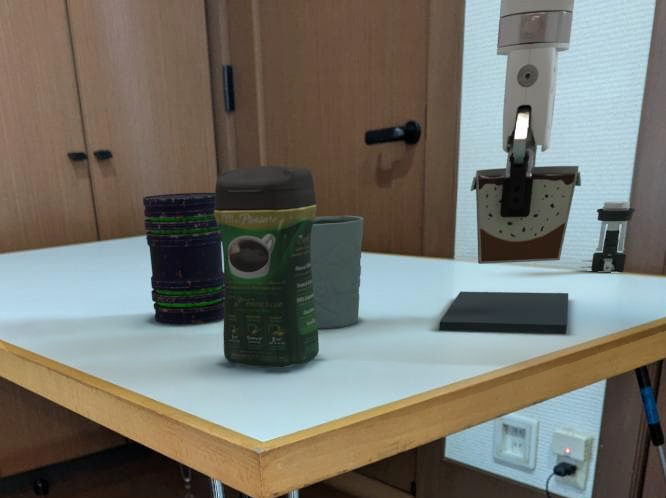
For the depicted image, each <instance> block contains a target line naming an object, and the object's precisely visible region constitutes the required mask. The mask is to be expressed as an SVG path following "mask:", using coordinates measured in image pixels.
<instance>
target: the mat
mask: <svg viewBox="0 0 666 498" xmlns="http://www.w3.org/2000/svg"><path fill="white" fill-rule="evenodd" d="M568 313H569V293H568V292H519V291H518V292H516V291H512V292H511V291H509V292H508V291H460V292H459V293H458V294H457V296H455V299H454V300H453V301H452V303H451V304H450V306H449V307H448V308H447V311H445V313H444V315H443V316H442V317H441V319H440V320H439V324H438V330H439V331H453V332H454V331H455V332H456V331H457V332H458V331H459V332H485V333H486V332H488V333H489V332H490V333H491V332H492V333H521V334H522V333H523V334H527V333H528V334H553V335H554V334H555V335H557V334H559V335H566V334H567V329H568V315H569V314H568Z"/></svg>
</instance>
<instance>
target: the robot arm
mask: <svg viewBox="0 0 666 498" xmlns="http://www.w3.org/2000/svg"><path fill="white" fill-rule="evenodd" d="M499 6H500V7H499V20H498V30H497V45H496V48H497V49H496V55H497V56H507V58H506V68H505V69H506V70H505V82H504V94H503V109H502V110H503V111H502V151H504V152H505V153H506V154H507V158H506V164H505V165H506V166H505V168H506V173H505V179H503V188H502V199H501V211H500V215H501V217H527V216H529V214H530V206H531V196H532V187H533V178H531V173H532V167H536V162H537V161H536V160H537V152H538V151H537V150H538V146H541V148H540V149H541V151H540V152H542V153H544V152H546V151H547V150H548V149H550V145H551V136H552V128H553V118H554V108H555V100H556V90H557V81H558V80H557V79H558V63H559V53H561V52H566V51H569V49H570V43H571V34H572V25H573V17H574V16H573V15H574V14H573V13H574V6H575V0H500V5H499Z"/></svg>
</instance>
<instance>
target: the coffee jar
mask: <svg viewBox="0 0 666 498" xmlns="http://www.w3.org/2000/svg"><path fill="white" fill-rule="evenodd" d="M214 191H215V192H214V193H215V211H214V213H215V219H216V222H217V225H218V228H219V231H220V234H221V239H222V242H221V247H222V258H223V272H224V319H223V329H222V330H223V332H222V333H223V337H222V338H223V356H224V358H225V359H226V361H228V363H230V364H234V365H240V366H244V367H254V368H263V369H270V368H271V369H279V368H283V369H284V368H289V367H292V366H298V365H299V366H304V365H307V364H309V363H310V362H312V361H313V360H315V358H316V357H317V356H318V354H319V351H320V345H319V344H320V343H319V329H318V327H317V319H316V311H315V302H314V293H313V282H312V271H311V257H310V241H311V230H312V226H313V223H314V220H315V217H317V211H318V210H317V208H318V207H317V206H318V205H317V199H316V192H315V183H314V179H313V175H312V172H311V170H310V169H309V168H307V167H298V166H297V167H296V166H287V165H259V166H258V165H257V166H248V167H242V168H237V169H231V170H226V171H221V172H220V173H219V174H218V176H217V178H216V182H215V189H214Z"/></svg>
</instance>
